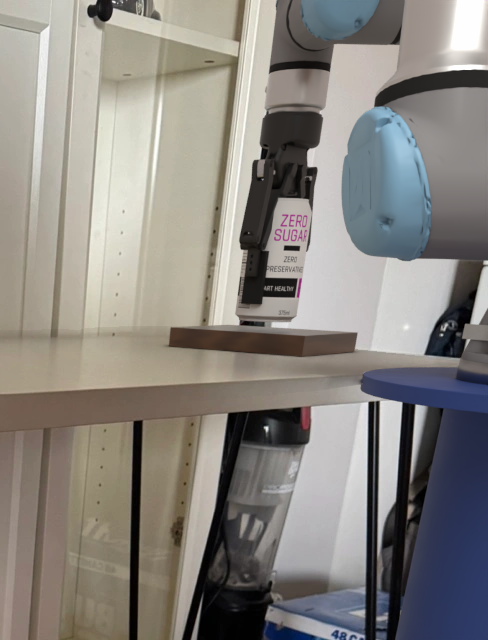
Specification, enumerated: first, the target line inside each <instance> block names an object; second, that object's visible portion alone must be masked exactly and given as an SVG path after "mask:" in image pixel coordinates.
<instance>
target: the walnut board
mask: <svg viewBox="0 0 488 640" xmlns="http://www.w3.org/2000/svg"><path fill="white" fill-rule="evenodd" d="M358 333H359V332H358V331H357V332H356V331H355V332H354V331H341V330H339V331H338V330H326V329H325V330H323V329H307V328H290V327H273V326H255V325H241V324H239V325H238V324H213V325H192V326H189V325H188V326H171V327H170V330H169V338H168V347H175V348H188V349H199V350H200V349H201V350H212V351H213V350H214V351H225V352H226V351H227V352H239V353H251V354H265V355H276V356H277V355H278V356H290V357H311V356H312V357H313V356H321V355H322V356H323V355H332V354H333V355H334V354H343V353H344V354H345V353H354V352H355V350H356V344H357V339H358Z"/></svg>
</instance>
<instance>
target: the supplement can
mask: <svg viewBox="0 0 488 640" xmlns="http://www.w3.org/2000/svg"><path fill="white" fill-rule="evenodd" d="M311 216H312V217H313V212H312V211H311V208H310V205H309V200H308V199H300V198H278V202H277V205H276V207H275V210H274V216H273V223H272V230H271V233H270V236H269V239H268V242H267V245H266V248H265V250H262V251H269V256H268V263H267V271H266V278H265V285H264V293H263V300H262V304H242V303H241V300H242V292H243V284H244V276H245V268H246V261H247V253H248V250H242V256H241V257H242V259H241V265H240V273H239V281H238V289H237V290H238V291H237V297H236V305H235V306H236V307H235V313H234V314H235V316H236V317H237V318H238V321H243V322H256V323H257V322H259V323H291V322H292V320H293V319H295V318H296V317H297V314H298V308H299V303H300V302H299V301H300V296H301V289H302V282H303V274H304V269H305V262H306V256H307V252H306V249H307V243H308V236H309V229H310V223H311ZM248 234H249V232H248Z"/></svg>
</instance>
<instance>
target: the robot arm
mask: <svg viewBox="0 0 488 640" xmlns="http://www.w3.org/2000/svg"><path fill="white" fill-rule="evenodd" d="M335 45H358V46H359V45H360V46H361V45H362V46H364V45H366V46H389V45H390V46H399V47H398V55H397V63H396V64H397V65H396V71H394V74H393V75H392V76H391V77H390V78H389V79H388V80H387V81H386V82H385V83H384V84H383V85H382V86H380V88H379V89H378V90H377V91H376V92H375V93H376V94H375V98H374V104H373V107H372V108H371V109H369V110H366V111H365V112H364V113H363V114H361V115H360V117H358V118H357V120H356V122H355V123H354V125H353V127H352V129H351V132H350V134H349V137H348V140H347V144H346V145H347V146H346V148H347V154H346V155H345V156H344V157H343V159H344V160H343V164H342V171H341V193H340V194H341V208H342V217H343V222H344V226H345V229H346V232H347V234H348V236H349V238H350V241H351V242H352V244H353V245H354V247H355V248H356V249H357V250H358V251H359V252H361V253H362V254H364V255H367V256H370V257H377V258H391V259H397V260H399V261H402V262H411V261H414V260H417V259H418V260H459V261H461V260H462V261H482V262H483V261H485V262H487V261H488V0H275V18H274V26H273V35H272V44H271V52H270V60H269V69H268V77H267V85H266V86H265V88H264V93H265V101H264V110H265V111H266V112H268V113H267V114H265V115H264V117H262V119H261V120H262V121H261V128H260V137H259V146H260V148H262V149H264V150H267V154H266V157H265V158H263V159H262V158H261V159H254V160H253V161H252V162H251V163H252V164H251V180H250V185H249V190H248V194H247V199H246V204H245V208H244V214H243V218H242V223H241V228H240V233H239V237H238V242H239V248H240V250H241V251H243V250H248V253H247V261H246V268H245V276H244V284H243V292H242V300H241V303H242V304H262V300H263V293H264V285H265V278H266V271H267V263H268V256H269V251H262V250H265V248H266V245H267V242H268V239H269V236H270V233H271V230H272V223H273V216H274V210H275V207H276V205H277V202H278V198H300V199H308V200H309V205H310V208H311V211H312V213H313V211H314V196H315V185H316V182H317V177H318V172H319V171H318V167H317V166H308V165H309V163H308V152H309V150H310V149H311V150H312V149H315V148H317V147H318V146H319V145H320V142H321V136H322V129H323V122H324V117H323V115H322V114H321V113H320V112H321V111H323V110H324V109H325V108H326V105H327V97H328V91H329V84H330V75H331V68H332V60H333V54H334V47H335ZM312 225H313V215H312V216H311V223H310V229H309V236H308V243H307V249H306V253H307V252H308V251H309V248H310V246H311V237H312ZM248 232H249V234H248ZM461 336H462V337H461V339H462V340H469V341H468V343H467V344H466V346H465V349H464V350H463V352H462V354H461V357H460V358H459V360H458V365H457V368H458V370H457V374H456V378H457V379H458V380H461V381H466V382H471V383H477V384H484V385H488V307H487V308H486V310H485V312H484V314H483V316H482V318H481V320H480V321H479V323H478V324H477V323H476V324H475V323H465V324H464V328H463V332H462V335H461Z"/></svg>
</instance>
